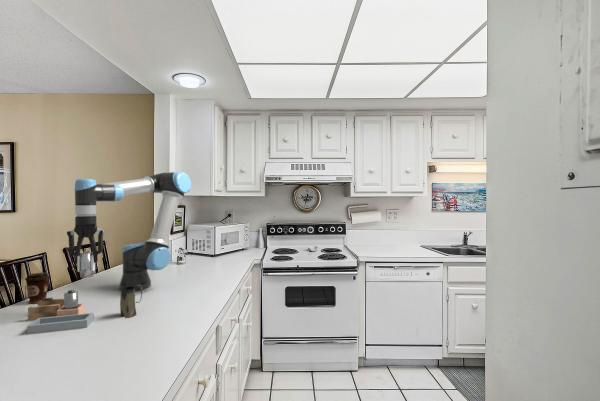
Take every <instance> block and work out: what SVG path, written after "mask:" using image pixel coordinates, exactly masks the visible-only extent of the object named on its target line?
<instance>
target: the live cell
mask: <svg viewBox="0 0 600 401" xmlns="http://www.w3.org/2000/svg"><path fill="white" fill-rule="evenodd" d="M91 255H93V252H92V251H90V250H83V252H80V272H79V274H80V278H81V279H82V278H83V279H85V278H92V277H93V276H94V274H93V273H94V271H91Z"/></svg>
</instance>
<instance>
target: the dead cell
mask: <svg viewBox="0 0 600 401" xmlns="http://www.w3.org/2000/svg"><path fill="white" fill-rule="evenodd" d="M63 299H64V310H67V309H77V308H78V304H79V291H78V290H75V289H69V290H67V291H66V292H64V293H63Z"/></svg>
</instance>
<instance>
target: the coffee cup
mask: <svg viewBox="0 0 600 401" xmlns="http://www.w3.org/2000/svg"><path fill="white" fill-rule="evenodd" d="M49 279H50V275H49V274H48V272H36V273H29V274H27V276H26V278H25V279H24V280H25V281H26V286H25V287H26V291H27V297H28V299H29V300H28V304H30V305H31V304H33V305H34V304H38V301H40V300H42V299H44V298H47V294H48V287H49V286H48V285H49V284H48V283H49Z"/></svg>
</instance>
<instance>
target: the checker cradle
mask: <svg viewBox="0 0 600 401" xmlns="http://www.w3.org/2000/svg"><path fill="white" fill-rule="evenodd" d="M63 306H64V298H55V299H54V298H53V297H46V298H44V299H42V300H40V301H38V303H37V305H36V306H35V305H34V306H32V305H31V306H29V307H27V319H26V320H25V321H26V322H34V321H35V320H36V319H38V318H44V317H54V316H57V310H59V309H60V308H61V307H63Z"/></svg>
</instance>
